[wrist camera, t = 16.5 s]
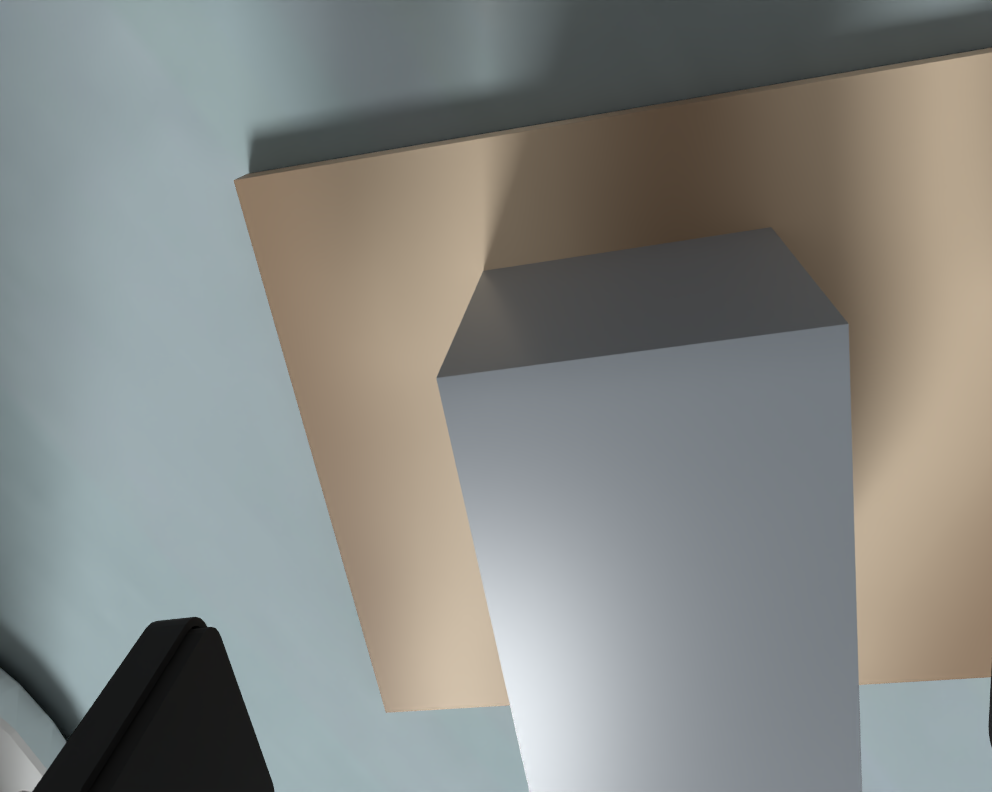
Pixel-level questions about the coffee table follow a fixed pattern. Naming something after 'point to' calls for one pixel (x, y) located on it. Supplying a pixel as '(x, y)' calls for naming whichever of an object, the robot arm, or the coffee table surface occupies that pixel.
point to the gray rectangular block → (665, 515)
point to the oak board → (637, 223)
